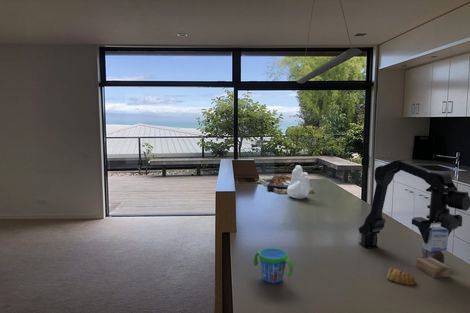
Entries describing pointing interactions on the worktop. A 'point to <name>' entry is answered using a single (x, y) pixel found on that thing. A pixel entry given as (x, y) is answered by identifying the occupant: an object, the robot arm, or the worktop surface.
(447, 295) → the worktop surface
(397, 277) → the pastry
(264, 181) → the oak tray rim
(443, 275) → the walnut pedestal block
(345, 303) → the worktop surface
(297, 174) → the decorative rooster
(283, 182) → the food platter
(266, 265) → the snack cup
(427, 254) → the perforated stone tool
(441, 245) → the medicine box
